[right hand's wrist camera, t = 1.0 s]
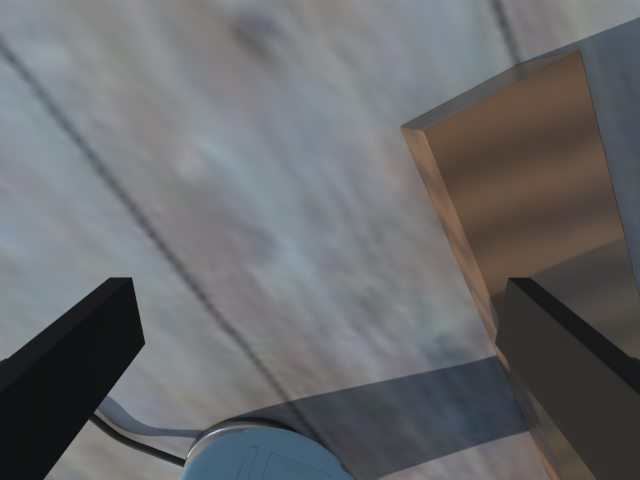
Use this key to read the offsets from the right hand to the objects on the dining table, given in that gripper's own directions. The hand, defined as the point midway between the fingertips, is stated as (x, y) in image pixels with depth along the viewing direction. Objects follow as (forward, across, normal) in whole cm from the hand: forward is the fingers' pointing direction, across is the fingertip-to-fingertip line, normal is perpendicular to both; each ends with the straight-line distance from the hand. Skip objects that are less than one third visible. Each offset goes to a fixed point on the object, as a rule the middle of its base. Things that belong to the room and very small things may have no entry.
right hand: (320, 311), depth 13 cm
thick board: (+19, +23, -16) cm, 34 cm away
